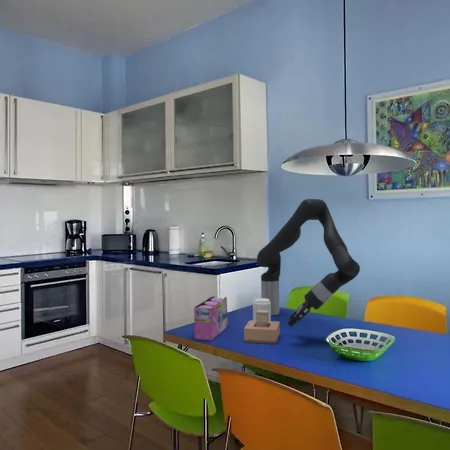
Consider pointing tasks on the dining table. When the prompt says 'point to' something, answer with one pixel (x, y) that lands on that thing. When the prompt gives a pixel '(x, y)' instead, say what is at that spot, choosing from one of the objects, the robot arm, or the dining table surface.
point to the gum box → (210, 318)
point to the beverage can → (261, 307)
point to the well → (262, 332)
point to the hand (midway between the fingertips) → (290, 322)
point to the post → (262, 318)
